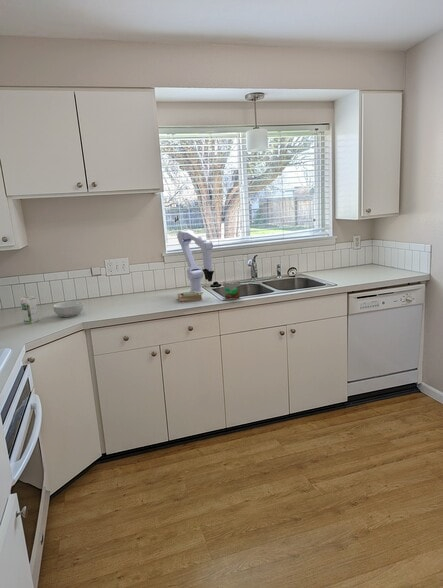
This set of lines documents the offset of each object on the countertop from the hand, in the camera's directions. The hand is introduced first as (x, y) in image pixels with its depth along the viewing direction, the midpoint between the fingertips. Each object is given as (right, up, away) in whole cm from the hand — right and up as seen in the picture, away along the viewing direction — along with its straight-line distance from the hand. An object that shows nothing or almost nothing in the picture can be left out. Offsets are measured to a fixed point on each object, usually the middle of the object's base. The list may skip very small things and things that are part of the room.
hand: (208, 280), depth 265 cm
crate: (-12, -12, -5) cm, 18 cm away
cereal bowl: (-81, -22, -29) cm, 88 cm away
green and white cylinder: (-98, -25, -39) cm, 109 cm away
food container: (+14, -12, -7) cm, 20 cm away
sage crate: (-12, -12, -5) cm, 17 cm away
